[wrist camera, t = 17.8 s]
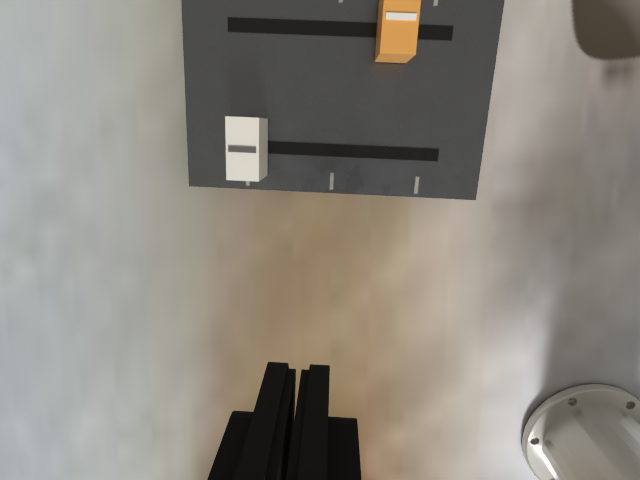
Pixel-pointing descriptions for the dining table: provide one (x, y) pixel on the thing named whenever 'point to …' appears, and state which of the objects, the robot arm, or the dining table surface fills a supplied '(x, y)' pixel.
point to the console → (341, 95)
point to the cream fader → (246, 148)
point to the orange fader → (397, 30)
